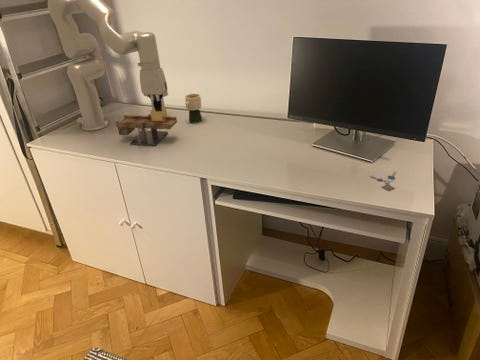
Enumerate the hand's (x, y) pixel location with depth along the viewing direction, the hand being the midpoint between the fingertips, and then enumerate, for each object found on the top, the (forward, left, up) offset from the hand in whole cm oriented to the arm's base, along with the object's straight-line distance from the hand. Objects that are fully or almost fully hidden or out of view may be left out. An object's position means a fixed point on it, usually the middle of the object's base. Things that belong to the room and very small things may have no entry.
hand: (158, 109), depth 158 cm
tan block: (0, 0, -6) cm, 6 cm away
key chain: (+90, -24, -15) cm, 94 cm away
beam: (-7, 0, -11) cm, 13 cm away
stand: (-7, 0, -14) cm, 16 cm away
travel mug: (-14, +28, -14) cm, 34 cm away
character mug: (+7, +23, -14) cm, 28 cm away
